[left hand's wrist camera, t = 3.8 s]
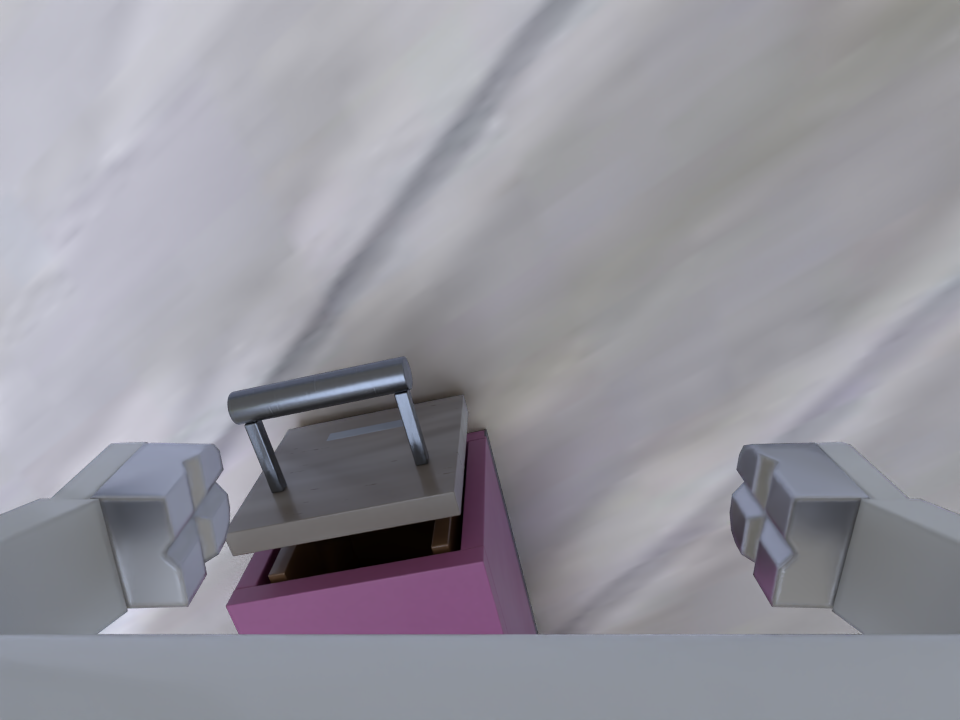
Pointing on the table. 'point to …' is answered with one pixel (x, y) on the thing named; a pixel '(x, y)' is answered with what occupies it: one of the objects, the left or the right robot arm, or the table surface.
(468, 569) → the pink storage box
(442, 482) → the drawer
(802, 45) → the table surface
